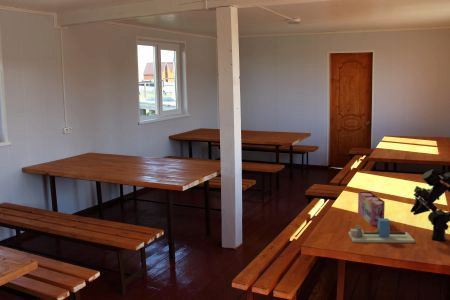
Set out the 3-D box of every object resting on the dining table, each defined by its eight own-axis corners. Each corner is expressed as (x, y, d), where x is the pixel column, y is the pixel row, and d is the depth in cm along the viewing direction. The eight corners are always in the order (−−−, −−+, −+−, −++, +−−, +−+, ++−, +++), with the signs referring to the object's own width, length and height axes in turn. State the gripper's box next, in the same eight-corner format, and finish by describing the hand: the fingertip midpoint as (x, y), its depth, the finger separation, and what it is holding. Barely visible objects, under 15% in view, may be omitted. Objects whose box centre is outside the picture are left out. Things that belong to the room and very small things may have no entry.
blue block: (387, 233, 242) (387, 218, 241) (389, 236, 238) (390, 221, 237) (377, 233, 243) (377, 218, 241) (379, 236, 238) (380, 221, 237)
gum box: (385, 226, 259) (386, 202, 257) (371, 226, 259) (372, 203, 256) (370, 213, 283) (370, 191, 280) (357, 213, 282) (358, 191, 280)
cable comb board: (406, 234, 246) (407, 223, 245) (414, 242, 234) (415, 230, 233) (348, 233, 248) (348, 222, 246) (353, 242, 236) (353, 230, 235)
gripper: (418, 177, 243) (395, 197, 246) (431, 185, 225) (407, 207, 228) (432, 191, 244) (410, 211, 247) (447, 201, 226) (422, 223, 228)
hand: (412, 213), depth 237 cm, fingers open, 4 cm apart
